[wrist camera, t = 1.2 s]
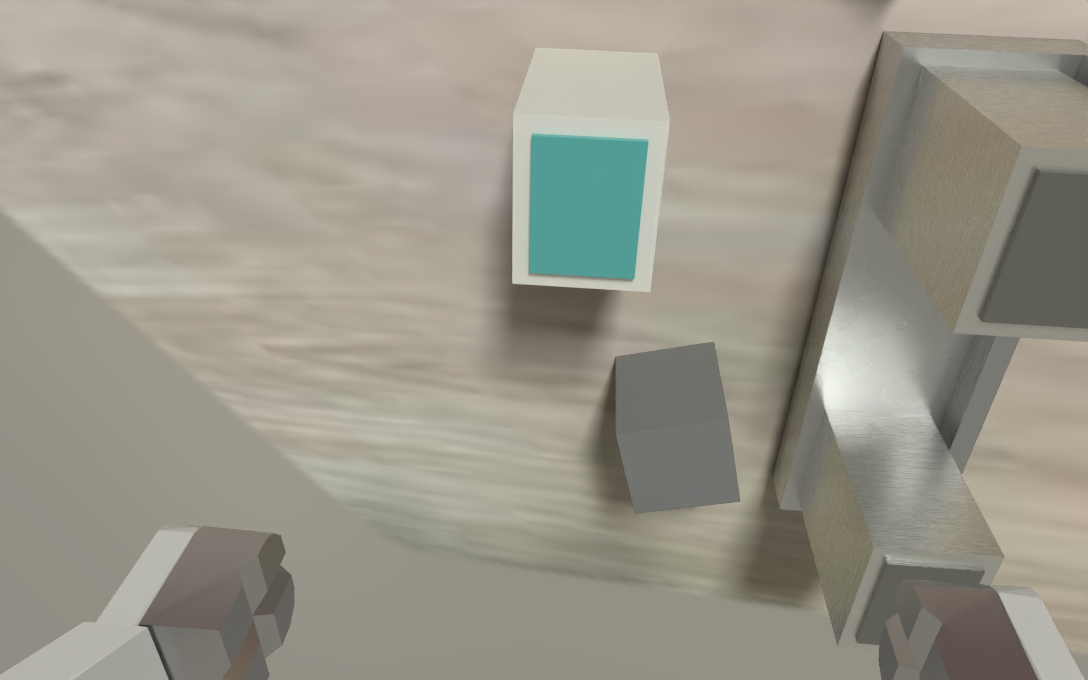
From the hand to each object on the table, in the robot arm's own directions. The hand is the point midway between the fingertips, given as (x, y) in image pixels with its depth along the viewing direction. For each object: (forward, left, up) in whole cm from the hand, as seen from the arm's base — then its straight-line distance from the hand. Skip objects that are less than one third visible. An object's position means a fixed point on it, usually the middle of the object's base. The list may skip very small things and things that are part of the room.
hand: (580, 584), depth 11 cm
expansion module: (0, 0, -20) cm, 20 cm away
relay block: (+4, -11, -20) cm, 23 cm away
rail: (+12, -6, -20) cm, 24 cm away
